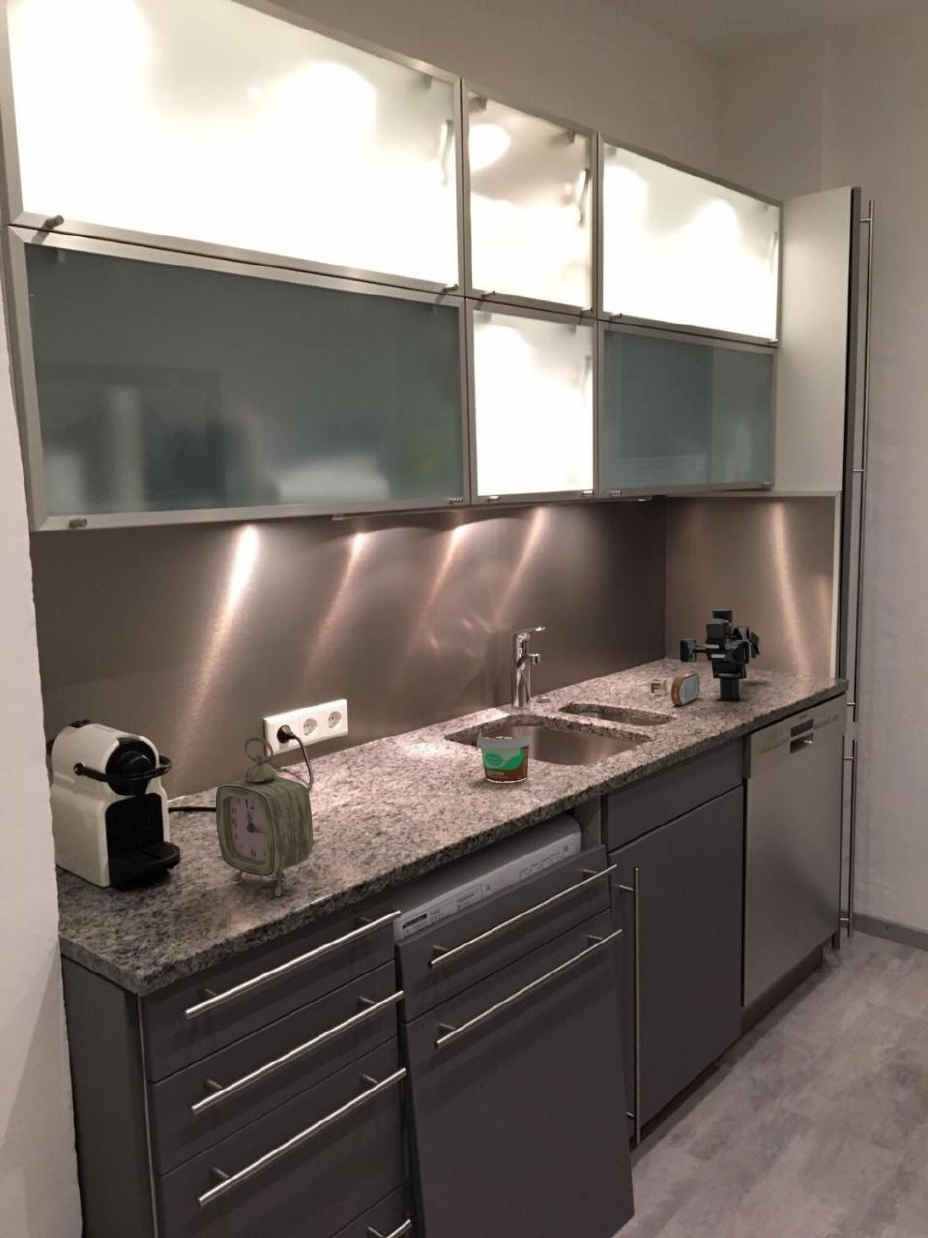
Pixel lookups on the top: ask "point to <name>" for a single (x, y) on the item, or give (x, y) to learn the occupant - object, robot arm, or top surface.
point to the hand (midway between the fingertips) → (707, 656)
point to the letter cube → (657, 686)
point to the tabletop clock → (264, 821)
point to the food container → (505, 757)
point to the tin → (685, 688)
